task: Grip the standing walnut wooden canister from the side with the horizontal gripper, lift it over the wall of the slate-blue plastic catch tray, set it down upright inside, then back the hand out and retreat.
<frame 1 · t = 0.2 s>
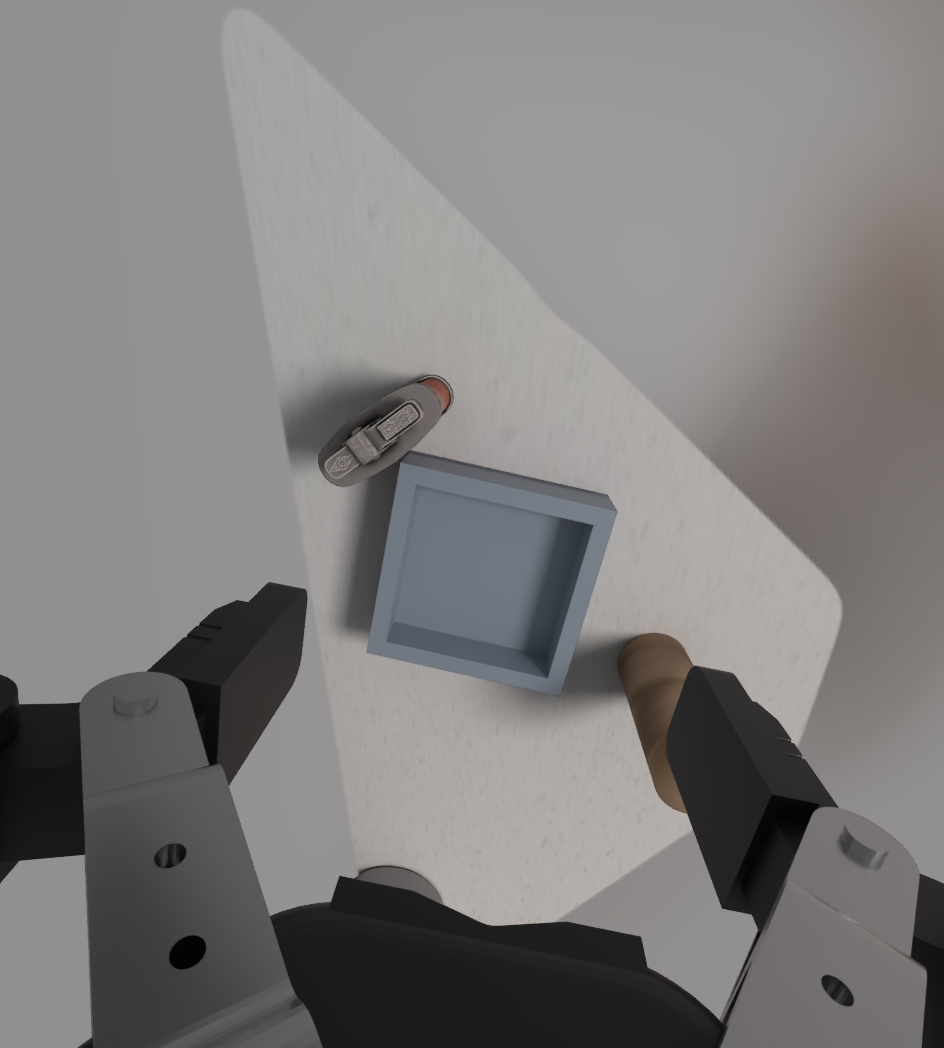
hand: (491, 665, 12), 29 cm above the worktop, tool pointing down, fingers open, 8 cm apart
canister: (652, 663, 44), on the worktop
catch tray: (487, 563, 42), on the worktop
lighter: (402, 418, 40), on the worktop
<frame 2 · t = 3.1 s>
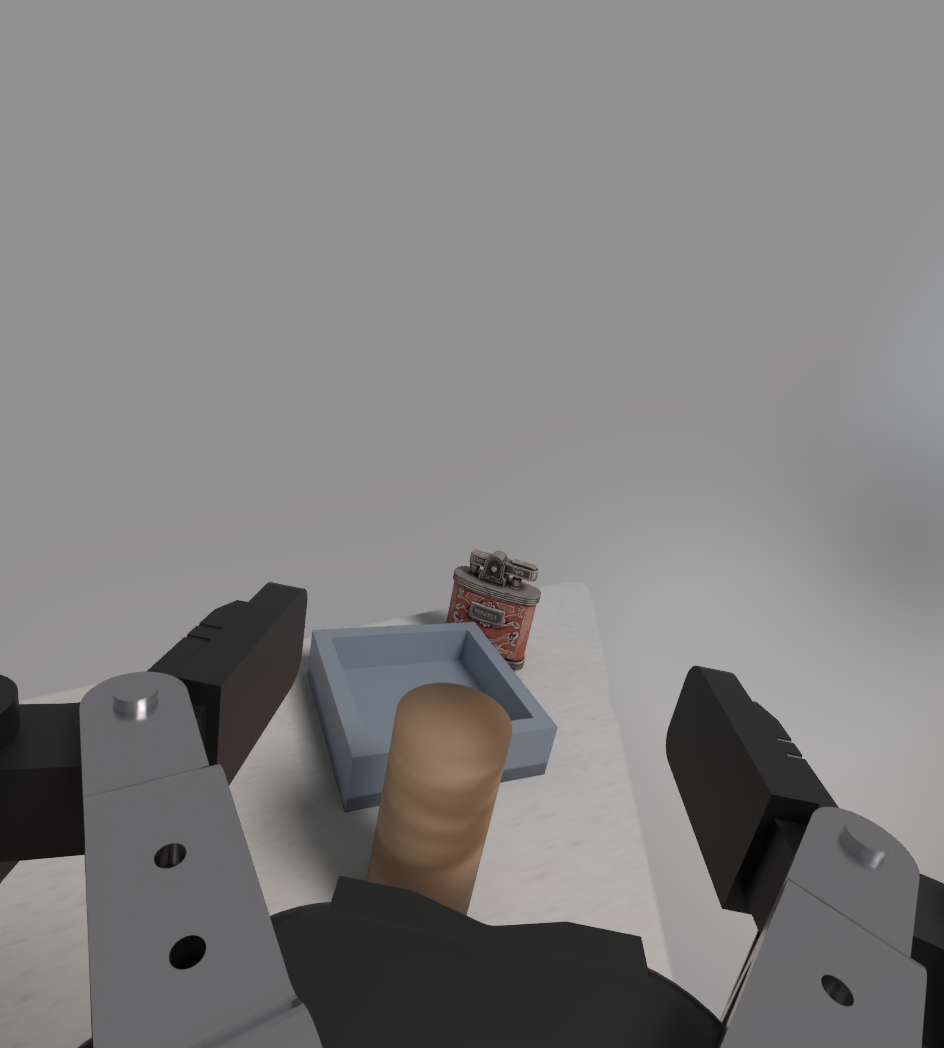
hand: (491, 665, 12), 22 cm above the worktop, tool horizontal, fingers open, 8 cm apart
canister: (413, 912, 29), on the worktop
catch tray: (418, 720, 43), on the worktop
lighter: (481, 655, 54), on the worktop
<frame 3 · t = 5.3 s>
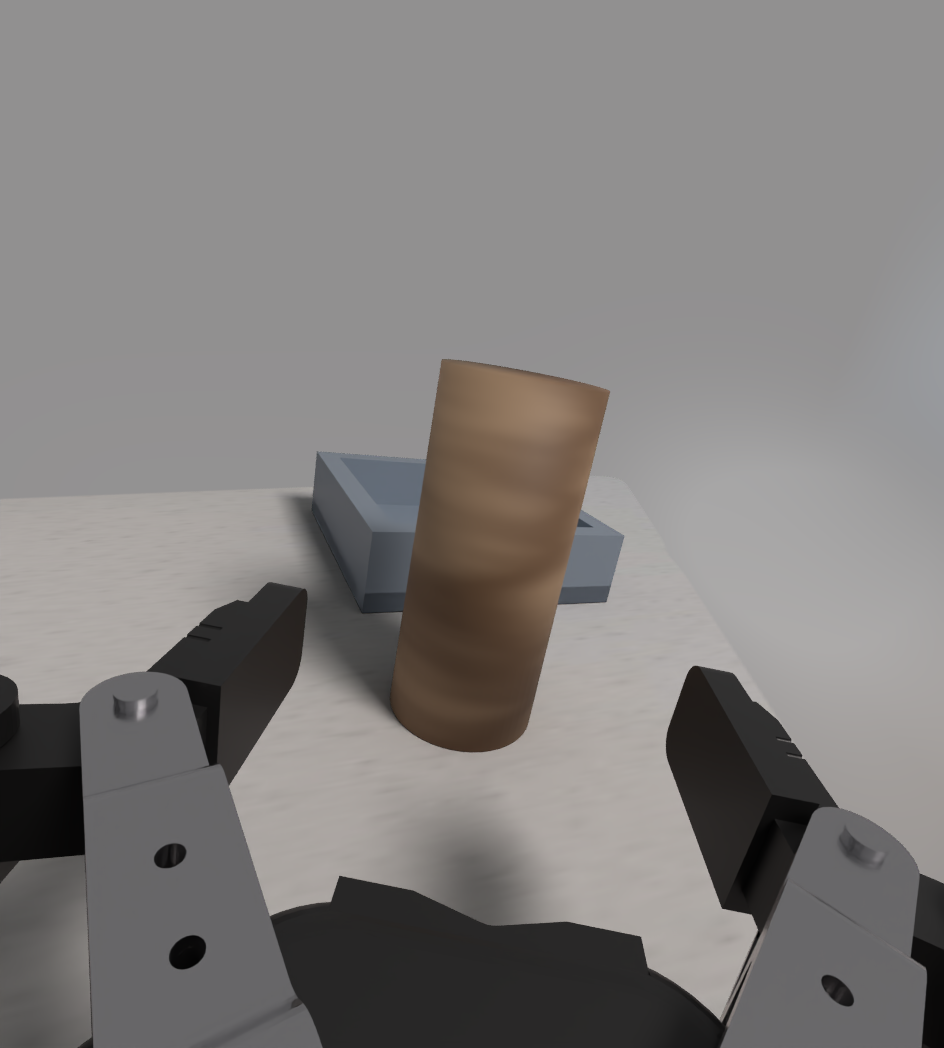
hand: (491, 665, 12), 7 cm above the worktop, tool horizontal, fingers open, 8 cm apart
canister: (460, 702, 22), on the worktop
catch tray: (447, 552, 36), on the worktop
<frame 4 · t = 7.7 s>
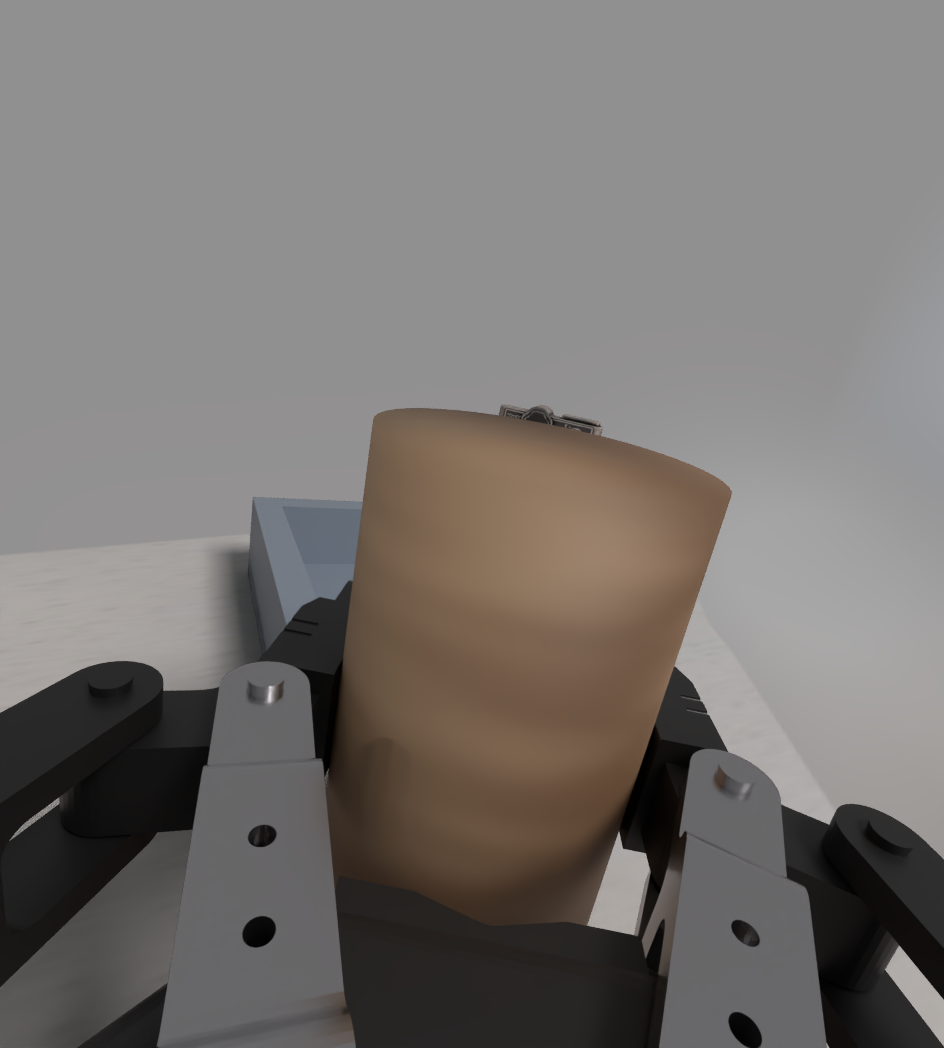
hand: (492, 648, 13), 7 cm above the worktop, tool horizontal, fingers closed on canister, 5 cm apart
canister: (425, 994, 12), on the worktop, touching gripper
catch tray: (424, 636, 26), on the worktop
lighter: (513, 566, 37), on the worktop
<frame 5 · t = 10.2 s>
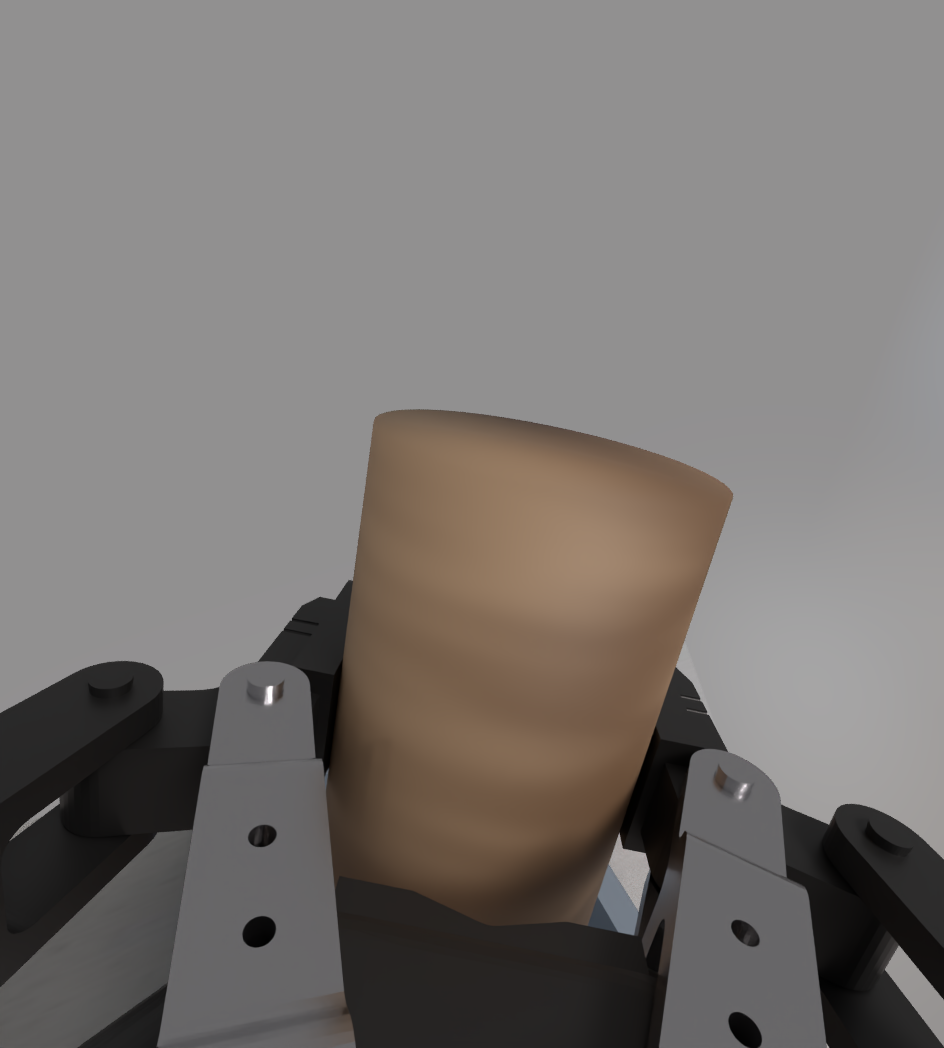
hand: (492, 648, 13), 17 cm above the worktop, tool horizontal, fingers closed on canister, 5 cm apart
canister: (424, 996, 12), point 10 cm above the worktop, touching gripper
catch tray: (419, 949, 23), on the worktop
when the fingers open (9 cm above the worktop, at t = 13.1 s): canister drops 1 cm, resting on catch tray.
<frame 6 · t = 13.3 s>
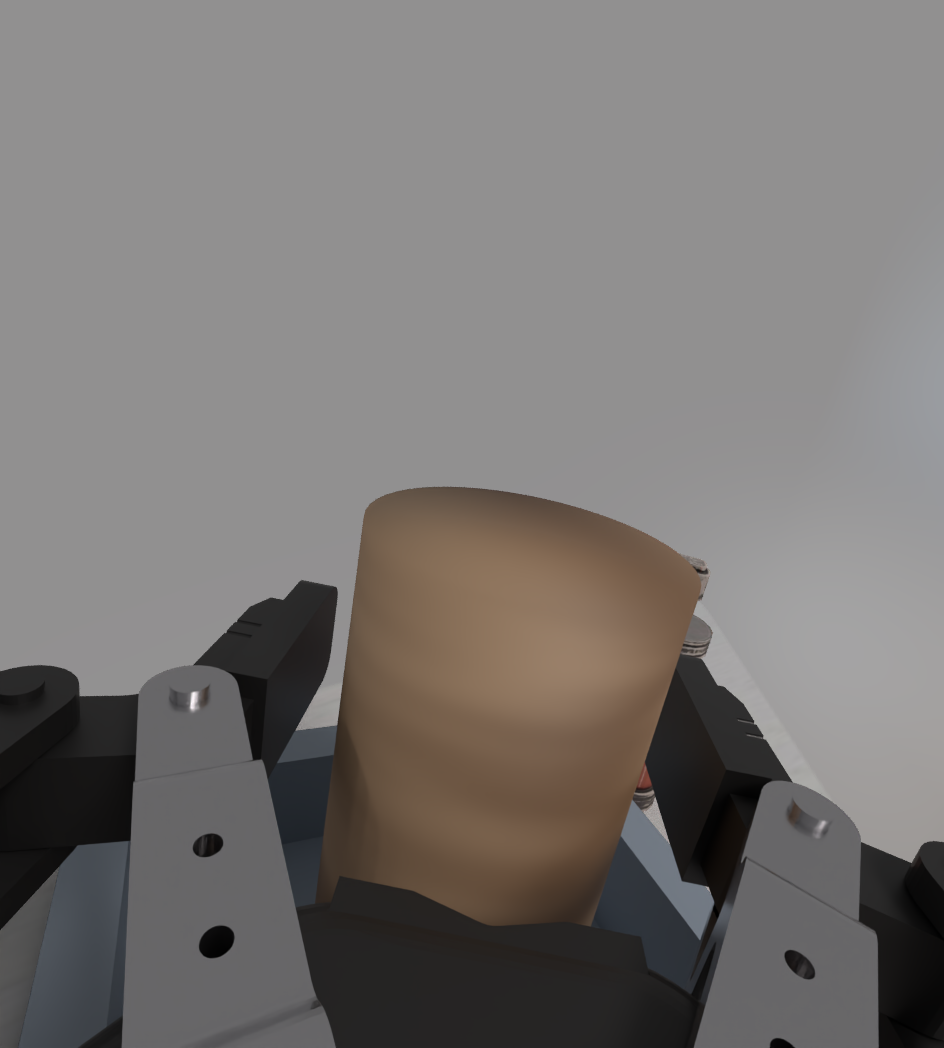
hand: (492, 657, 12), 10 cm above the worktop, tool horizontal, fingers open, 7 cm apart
canister: (418, 1043, 13), point 1 cm above the worktop, touching catch tray
lighter: (553, 764, 24), on the worktop
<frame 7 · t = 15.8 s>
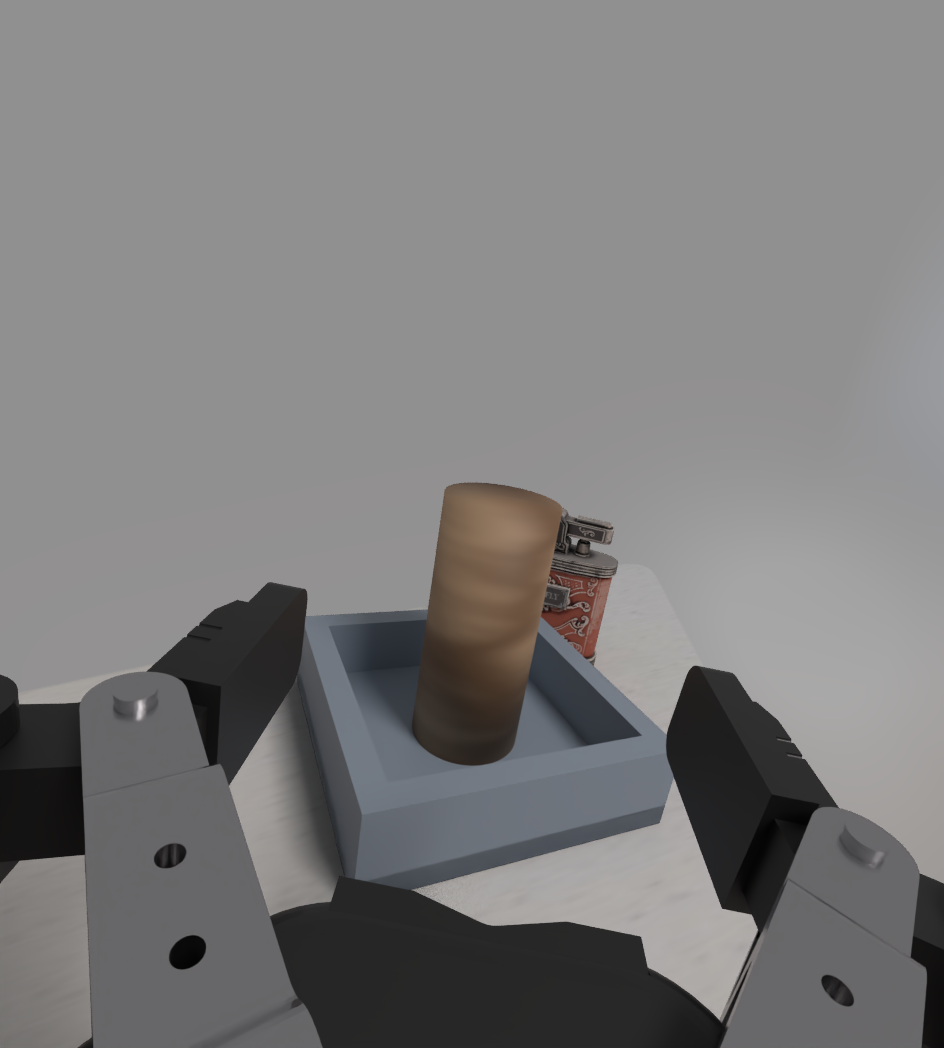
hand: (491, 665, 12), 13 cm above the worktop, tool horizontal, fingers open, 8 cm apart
canister: (463, 728, 29), point 1 cm above the worktop, touching catch tray
catch tray: (459, 744, 29), on the worktop
lighter: (534, 651, 40), on the worktop
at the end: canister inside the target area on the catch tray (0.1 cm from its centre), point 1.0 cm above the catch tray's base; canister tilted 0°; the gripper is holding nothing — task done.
